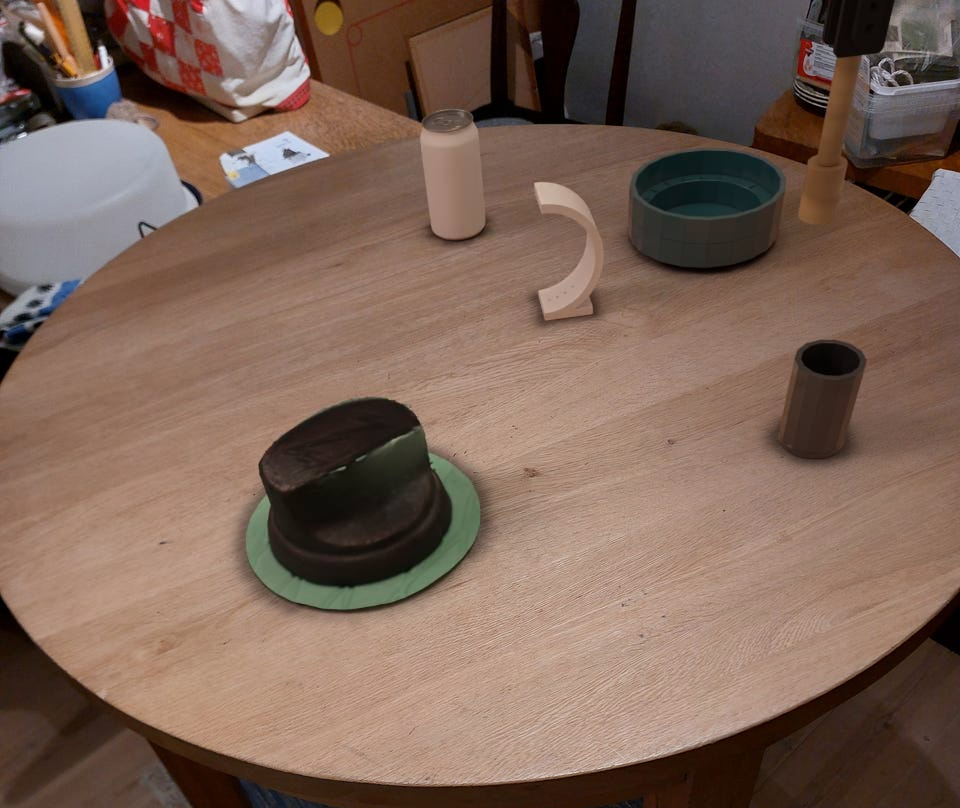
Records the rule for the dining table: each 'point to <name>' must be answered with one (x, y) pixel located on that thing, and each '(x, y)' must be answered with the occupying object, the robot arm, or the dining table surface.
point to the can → (453, 174)
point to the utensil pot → (821, 398)
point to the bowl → (705, 207)
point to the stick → (830, 149)
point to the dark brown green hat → (358, 508)
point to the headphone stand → (577, 287)
